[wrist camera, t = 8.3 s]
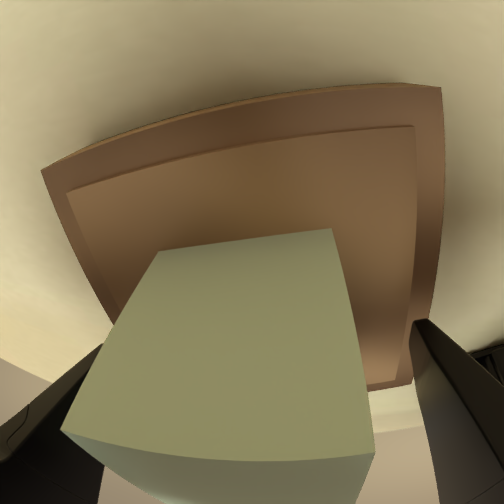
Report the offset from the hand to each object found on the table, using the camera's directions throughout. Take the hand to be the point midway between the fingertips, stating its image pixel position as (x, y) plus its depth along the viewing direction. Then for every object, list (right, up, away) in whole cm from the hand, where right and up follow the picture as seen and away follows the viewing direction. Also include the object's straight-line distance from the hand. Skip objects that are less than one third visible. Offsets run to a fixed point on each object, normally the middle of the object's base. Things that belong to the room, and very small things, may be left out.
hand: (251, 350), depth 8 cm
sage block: (0, +1, +2) cm, 2 cm away
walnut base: (0, +3, +4) cm, 5 cm away
